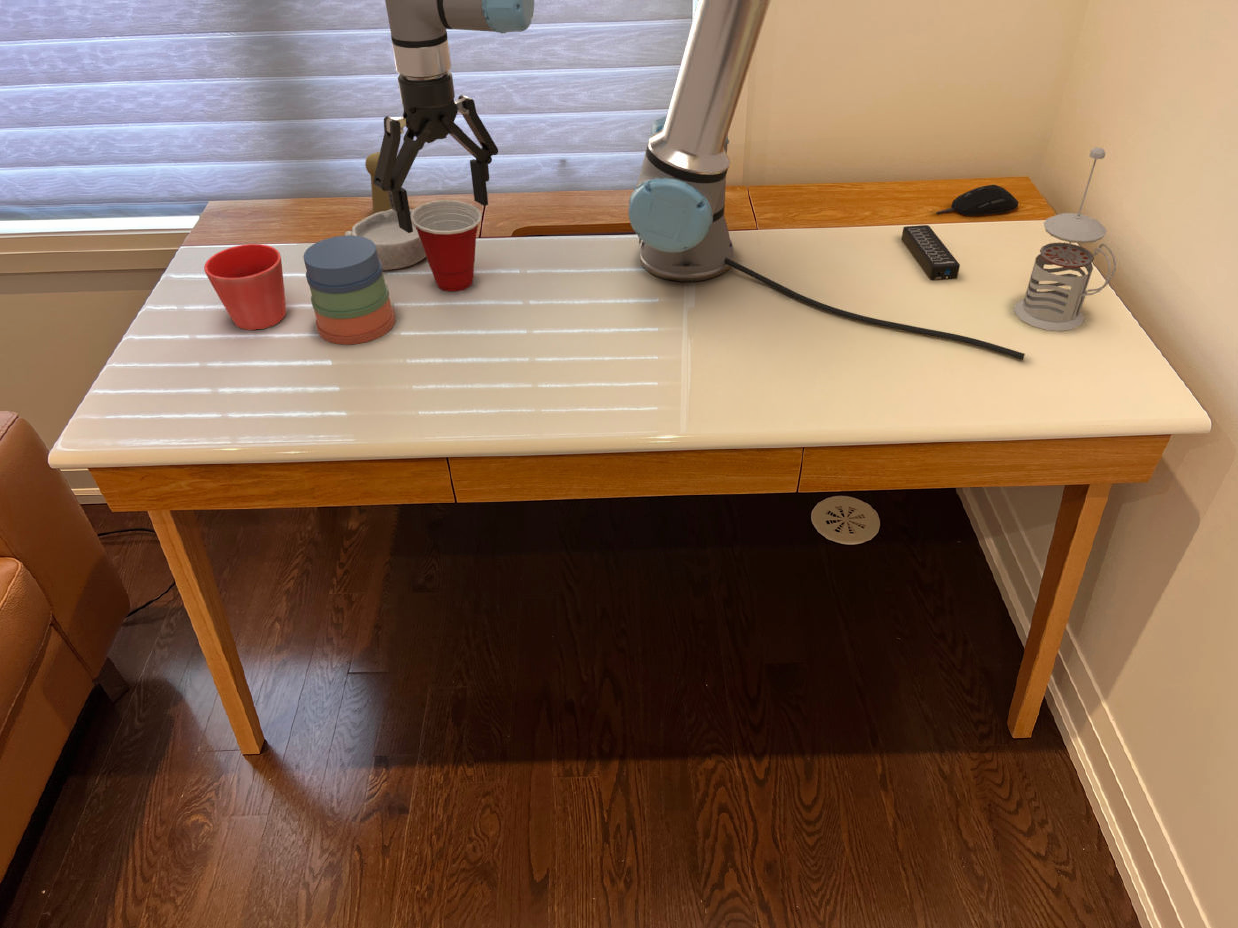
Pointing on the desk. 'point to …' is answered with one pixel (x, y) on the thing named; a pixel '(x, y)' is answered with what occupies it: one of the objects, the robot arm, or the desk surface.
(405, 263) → the dish
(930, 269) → the multiport hub
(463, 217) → the plastic cup
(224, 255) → the flower pot
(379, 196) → the wooden peg doll
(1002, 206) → the gaming mouse
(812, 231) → the desk surface
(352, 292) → the cup stack
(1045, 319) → the french press
